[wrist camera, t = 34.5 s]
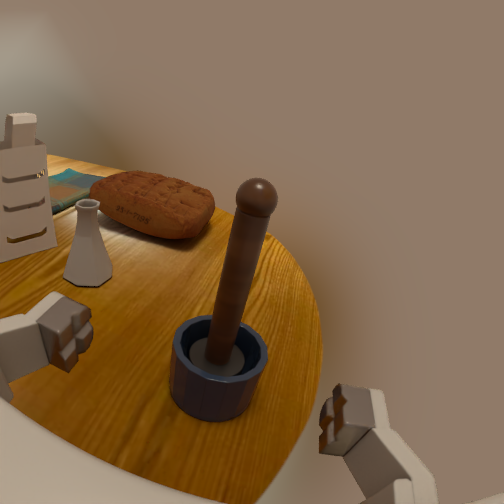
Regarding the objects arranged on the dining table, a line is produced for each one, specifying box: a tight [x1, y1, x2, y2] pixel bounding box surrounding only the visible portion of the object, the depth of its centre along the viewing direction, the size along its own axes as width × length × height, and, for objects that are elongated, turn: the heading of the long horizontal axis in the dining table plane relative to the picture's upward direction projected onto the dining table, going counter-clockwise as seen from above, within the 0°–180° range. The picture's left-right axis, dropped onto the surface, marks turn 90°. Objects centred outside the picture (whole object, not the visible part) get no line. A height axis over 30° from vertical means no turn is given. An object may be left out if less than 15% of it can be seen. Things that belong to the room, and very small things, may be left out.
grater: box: [0, 113, 57, 263], centre depth 34 cm, size 10×10×20 cm
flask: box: [63, 199, 112, 286], centre depth 35 cm, size 7×7×10 cm
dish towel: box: [29, 168, 106, 214], centre depth 58 cm, size 17×23×2 cm
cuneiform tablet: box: [89, 171, 215, 239], centre depth 55 cm, size 22×17×8 cm
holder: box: [169, 315, 268, 422], centre depth 25 cm, size 8×8×6 cm
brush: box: [188, 178, 278, 377], centre depth 22 cm, size 5×5×19 cm
